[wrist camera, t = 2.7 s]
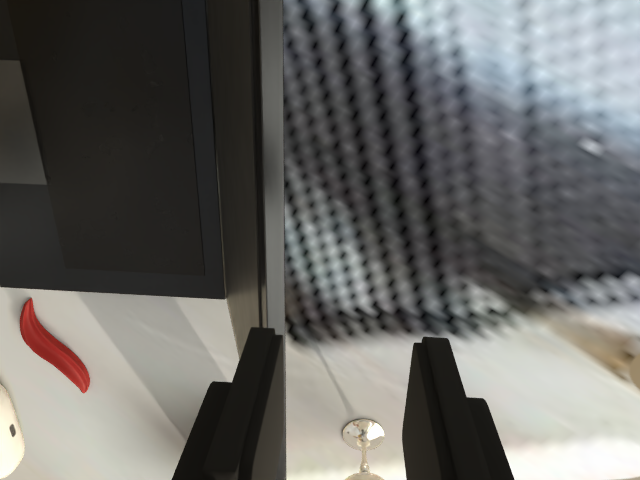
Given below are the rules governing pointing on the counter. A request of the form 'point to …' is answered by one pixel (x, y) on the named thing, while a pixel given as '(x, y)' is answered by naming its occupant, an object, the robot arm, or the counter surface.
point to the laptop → (109, 148)
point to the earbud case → (9, 436)
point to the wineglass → (363, 444)
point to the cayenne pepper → (52, 348)
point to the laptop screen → (251, 164)
